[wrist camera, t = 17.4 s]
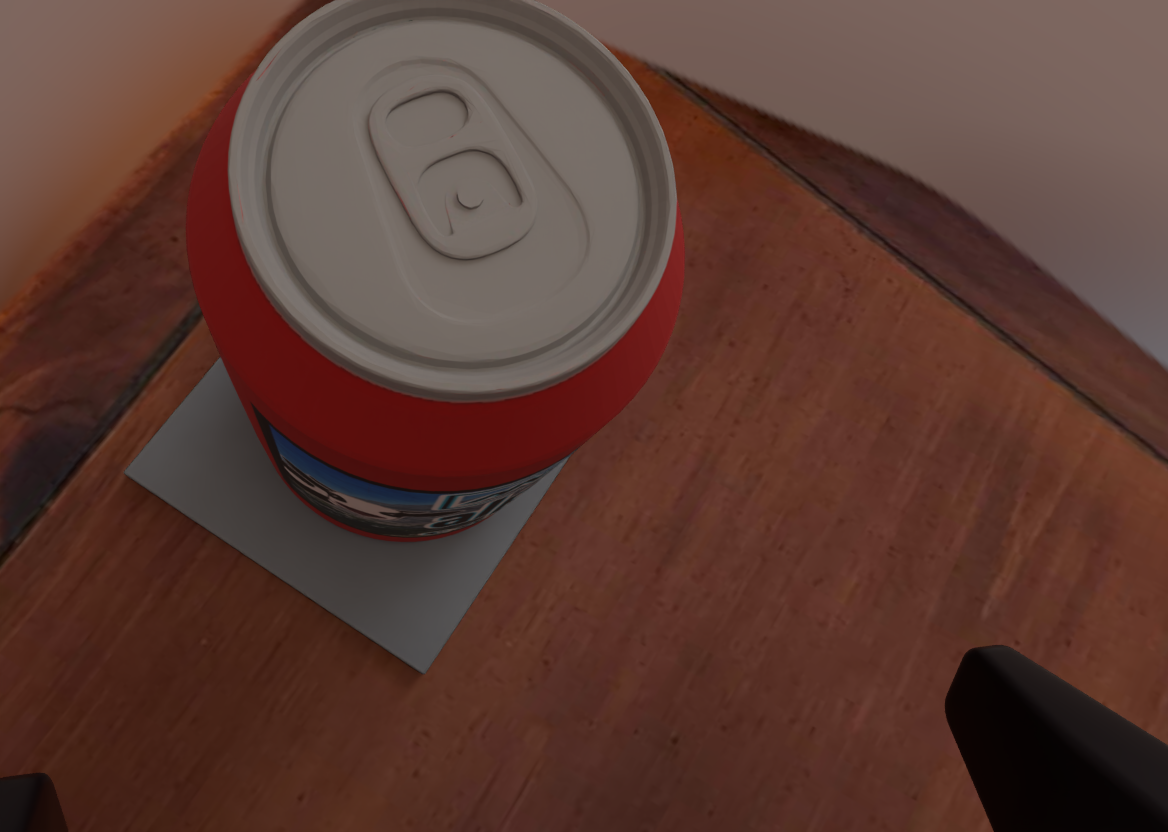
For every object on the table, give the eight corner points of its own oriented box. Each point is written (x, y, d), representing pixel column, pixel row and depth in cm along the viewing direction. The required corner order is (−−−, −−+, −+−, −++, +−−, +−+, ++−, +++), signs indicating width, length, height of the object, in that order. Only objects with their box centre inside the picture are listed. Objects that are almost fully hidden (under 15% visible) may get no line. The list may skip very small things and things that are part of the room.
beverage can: (341, 601, 21) (332, 566, 10) (205, 339, 22) (51, 25, 11) (594, 464, 24) (826, 307, 12) (465, 228, 24) (570, -135, 13)
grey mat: (423, 674, 22) (424, 675, 22) (126, 475, 21) (122, 472, 21) (646, 340, 25) (650, 335, 25) (391, 158, 24) (392, 150, 24)
